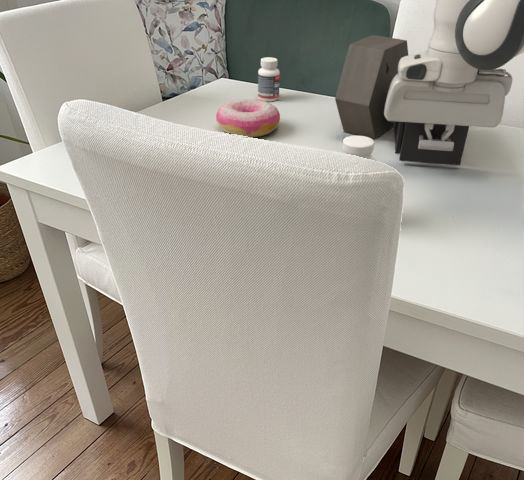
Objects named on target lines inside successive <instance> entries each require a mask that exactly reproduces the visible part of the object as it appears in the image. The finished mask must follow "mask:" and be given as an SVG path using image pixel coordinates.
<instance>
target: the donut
mask: <svg viewBox="0 0 524 480" xmlns="http://www.w3.org/2000/svg"><path fill="white" fill-rule="evenodd" d="M215 119H216V123H217V125H218V126H219V129H221V130H222V131H223V132H225V133H227V134H228V133H231V134H237V135H243V136H248V137H250V138H257V137H258V138H260V137H263V136H266V135H269V134H270V133H272V132H273V131H274V130H276V129H277V128H278V126H279V124H280V121H281V114H280V112H279V109H278V108H277V106H275V105H274V104H273V103H270V101H262V100H260V99H253V98H244V99H235V100H231V101H228V102H225V103H224V104H222V105H221V106H220V107H219V108H218V109H217V111H216V113H215ZM231 134H230V135H231ZM248 137H247V138H248Z"/></svg>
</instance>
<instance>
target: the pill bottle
mask: <svg viewBox="0 0 524 480" xmlns="http://www.w3.org/2000/svg"><path fill="white" fill-rule="evenodd" d="M278 61H279V60H278V58H276V57H271V56H267V57H262V58H261V59H260V68H259V69H258V71H257V100H261V101H265V102H275V101H278V100H279V99H280V78H281V76H280V75H281V72H280V69H278V68H277V67H278V64H279V63H278Z"/></svg>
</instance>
